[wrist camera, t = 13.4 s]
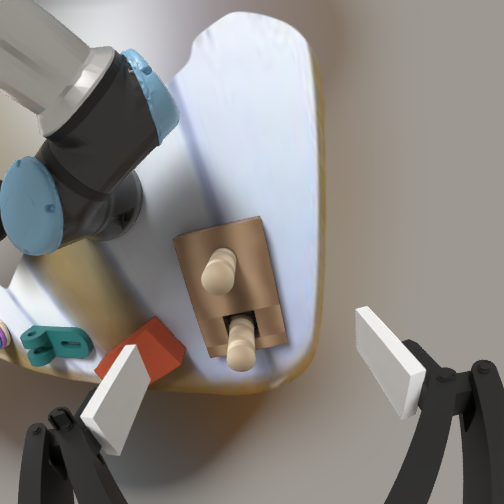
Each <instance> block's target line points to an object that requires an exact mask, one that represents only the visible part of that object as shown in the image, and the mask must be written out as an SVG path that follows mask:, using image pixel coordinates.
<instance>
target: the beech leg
mask: <svg viewBox="0 0 504 504" xmlns="http://www.w3.org/2000/svg"><path fill="white" fill-rule="evenodd" d="M229 330H230V331H229V341H228V351H227V364H228V366H229V367H230V368H231V369H233V370H235V371H239V372H244V371H248V370H250V369H251V368H253V366H254V365H255V362H256V356H255V340H254V323H253V314H252V312H251V311H246V312H241V313H237V314H232V315H231V321H230V326H229Z"/></svg>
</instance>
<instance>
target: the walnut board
mask: <svg viewBox="0 0 504 504" xmlns="http://www.w3.org/2000/svg"><path fill="white" fill-rule="evenodd" d="M173 241H174V245H175V249H176V252H177V256H178V259H179V263H180V266H181V270H182V273H183V276H184V280H185V283H186V286H187V290H188V293H189V296H190V299H191V302H192V305H193V309H194V312H195V315H196V318H197V321H198V324H199V327H200V330H201V333H202V336H203V339H204V341H205V344H206V347H207V350H208V353H209V356H210V358H213V357H219V356H225V355H227V351H228V341H229V331H230V330H229V323H228V320H227V315H232V314H237V313H241V312H246V311H251V310H254V312H255V316H256V320H257V324H258V327H256V328H254V340H255V350H257V349H262V348H267V347H272V346H276V345H281V344H285V343H288V342H287V337H286V332H285V328H284V323H283V318H282V313H281V308H280V304H279V299H278V294H277V290H276V285H275V280H274V276H273V271H272V266H271V262H270V257H269V253H268V248H267V244H266V239H265V235H264V230H263V226H262V221H261V218H260V216H257V217H252V218H248V219H244V220H239V221H235V222H231V223H226V224H222V225H218V226H214V227H210V228H206V229H201V230H197V231H193V232H189V233H185V234H181V235H178V236H177V237H175V238H174V239H173Z"/></svg>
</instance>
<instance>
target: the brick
mask: <svg viewBox="0 0 504 504" xmlns="http://www.w3.org/2000/svg"><path fill="white" fill-rule="evenodd" d="M125 345H136V346H137V348H138V351H139V353H140V356H141V358H142V360H143V363H144V365H145V368H146V370H147V372H148V374H149V377H150V379H151V380H150V383H149V385H150V384H151V383H153V382H155V381H157V380H158V379H160V378H161V377H163V376H165V375H166V374H168V373H169V372H171V371H172V370H174V369H176V368H177V367H179V366H180V365H181V363H182V360H183V357H184V353H185V350H186V347H185V346H184V345H183V344H182V343H181V342H180V341H178V340H177V339H176V338H175V337H174V335H173V334H172V333H171V332H170V331H169V330H168V329H167V327H166V326H165V325H164V324H163V323H162V322H161V321H160V320H159V319H158V318H157V317H156V316H154V317H153V318H152V319H150V320H149V321H148V322H147V323H145V324H144V325H143V326H142V327H140V328H139V329H138V330H137V331H135V332H134V333H133V334H132V335H131V336H129V337H128V338H127V339H125V340H124V341H123V342H121V343H120V344H119V345H118V346H116V347H115V348H114V349H113V350H112V351H110V352H109V353H108V354H107V355H105V357H104V358H103V359H102V361H101V362H100V364H99V365H98V366H97V368H96V369H95V370H94V371H95V373H96V374H97V375H98V376H99V377H100V378H101V379H102V380H103V379H104V377H105V376H106V374H107V373H108V371H109V370H110V368H111V366H112V365H113V363H114V362H115V360H116V359H117V357H118V356H119V354H120V353H121V351H122V350H123V348H124V347H125Z"/></svg>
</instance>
